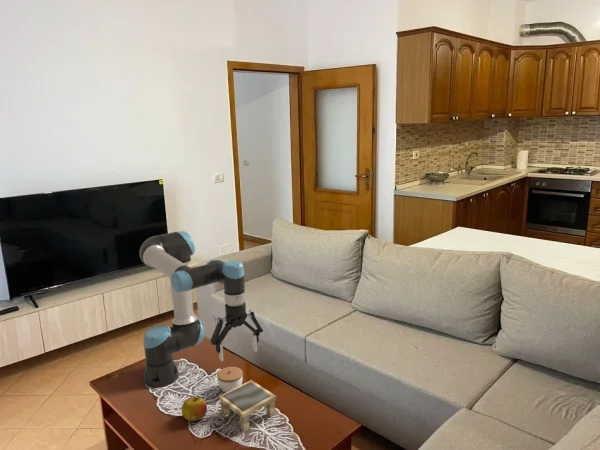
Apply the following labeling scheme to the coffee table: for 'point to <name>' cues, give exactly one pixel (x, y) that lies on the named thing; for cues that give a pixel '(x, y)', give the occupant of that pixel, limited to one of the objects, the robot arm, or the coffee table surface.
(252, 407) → the stool
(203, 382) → the coffee table surface
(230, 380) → the lidded jar
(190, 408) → the fruit
